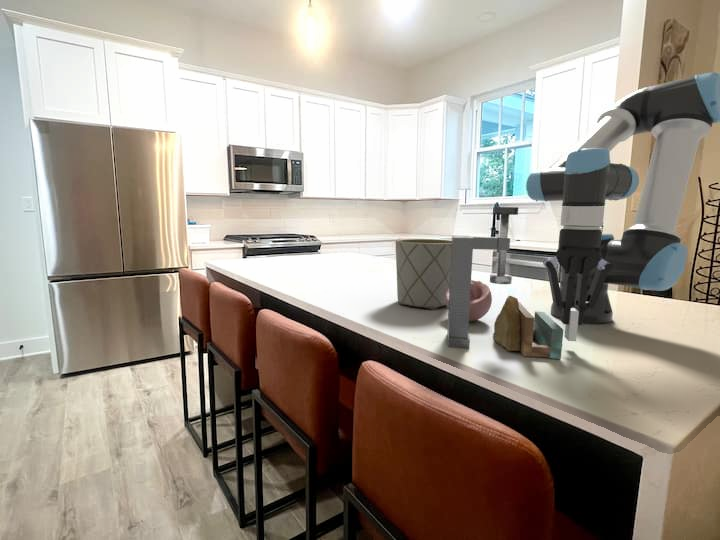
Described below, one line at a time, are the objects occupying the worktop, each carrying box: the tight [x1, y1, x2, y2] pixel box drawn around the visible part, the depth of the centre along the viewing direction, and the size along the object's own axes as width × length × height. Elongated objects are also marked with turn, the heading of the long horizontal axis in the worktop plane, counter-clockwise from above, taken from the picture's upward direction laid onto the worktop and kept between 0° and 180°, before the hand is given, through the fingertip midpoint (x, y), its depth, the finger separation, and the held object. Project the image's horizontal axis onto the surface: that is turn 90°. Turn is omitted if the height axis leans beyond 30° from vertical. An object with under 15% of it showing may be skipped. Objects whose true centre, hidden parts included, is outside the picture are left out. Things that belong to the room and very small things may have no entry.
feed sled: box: [518, 301, 564, 360], centre depth 82 cm, size 7×14×8 cm, turn 169°
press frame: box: [446, 235, 511, 349], centre depth 84 cm, size 12×9×24 cm
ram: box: [489, 206, 519, 285], centre depth 81 cm, size 5×5×16 cm
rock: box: [492, 295, 521, 352], centre depth 83 cm, size 11×9×10 cm
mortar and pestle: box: [445, 279, 493, 322], centre depth 102 cm, size 12×12×11 cm
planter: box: [395, 238, 452, 311], centre depth 120 cm, size 19×19×20 cm
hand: (570, 338), depth 81 cm, fingers closed
